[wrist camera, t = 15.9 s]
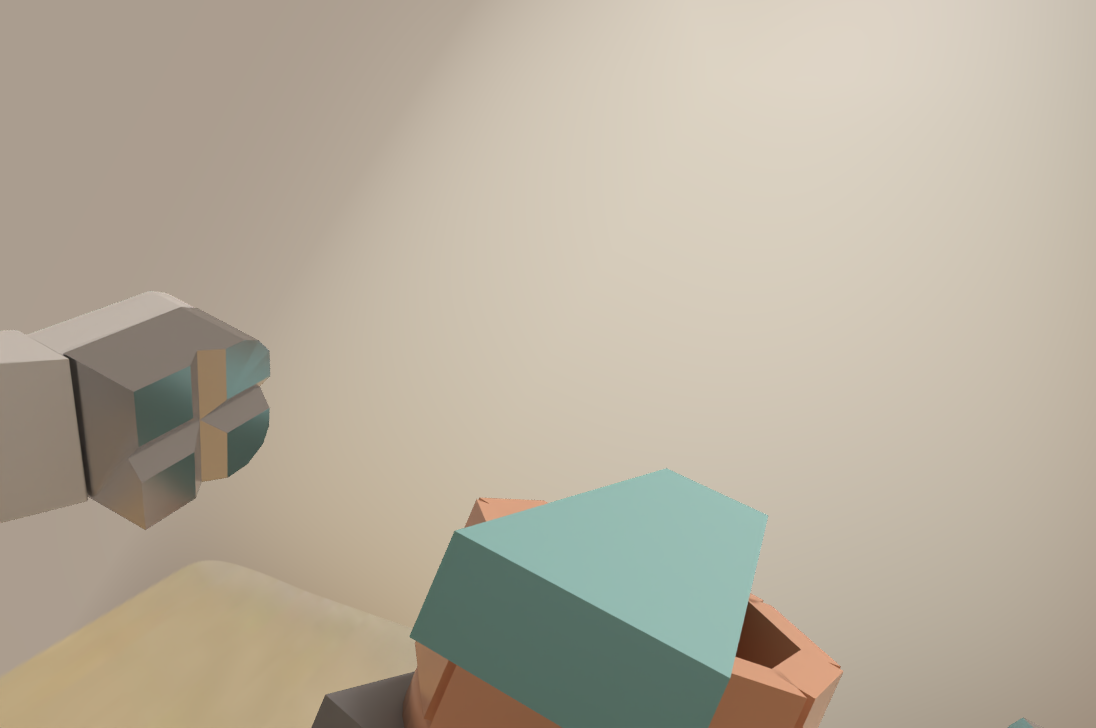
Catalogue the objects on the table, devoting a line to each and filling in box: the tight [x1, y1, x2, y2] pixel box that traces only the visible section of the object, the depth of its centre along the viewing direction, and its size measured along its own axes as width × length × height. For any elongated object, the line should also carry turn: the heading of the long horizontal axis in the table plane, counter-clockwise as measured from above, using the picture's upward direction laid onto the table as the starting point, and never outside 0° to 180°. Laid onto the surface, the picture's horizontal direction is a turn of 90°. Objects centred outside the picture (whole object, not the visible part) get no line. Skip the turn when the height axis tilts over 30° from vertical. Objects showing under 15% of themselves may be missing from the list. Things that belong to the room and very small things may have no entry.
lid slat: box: [410, 468, 768, 728], centre depth 20 cm, size 20×4×2 cm, turn 162°
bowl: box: [402, 498, 843, 728], centre depth 20 cm, size 9×9×5 cm
